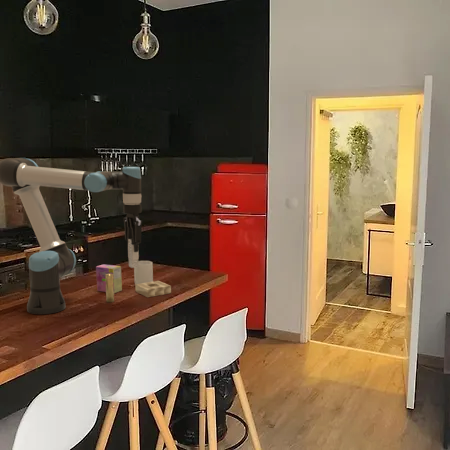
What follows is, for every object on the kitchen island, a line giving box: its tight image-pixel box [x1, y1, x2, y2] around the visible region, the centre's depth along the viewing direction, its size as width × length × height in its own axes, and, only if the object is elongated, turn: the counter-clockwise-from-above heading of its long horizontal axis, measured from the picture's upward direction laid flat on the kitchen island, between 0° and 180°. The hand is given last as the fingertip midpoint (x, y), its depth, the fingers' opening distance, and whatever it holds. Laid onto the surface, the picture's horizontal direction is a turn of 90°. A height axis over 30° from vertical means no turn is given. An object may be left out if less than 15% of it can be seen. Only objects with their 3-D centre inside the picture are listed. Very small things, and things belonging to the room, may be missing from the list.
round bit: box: [105, 274, 115, 303], centre depth 230 cm, size 3×3×12 cm
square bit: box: [127, 239, 139, 269], centre depth 226 cm, size 3×3×12 cm
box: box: [95, 264, 123, 294], centre depth 248 cm, size 10×6×12 cm, turn 62°
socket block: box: [134, 280, 172, 298], centre depth 245 cm, size 12×12×4 cm
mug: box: [133, 260, 154, 285], centre depth 260 cm, size 12×9×11 cm
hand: (133, 258), depth 227 cm, fingers closed on square bit, 3 cm apart
